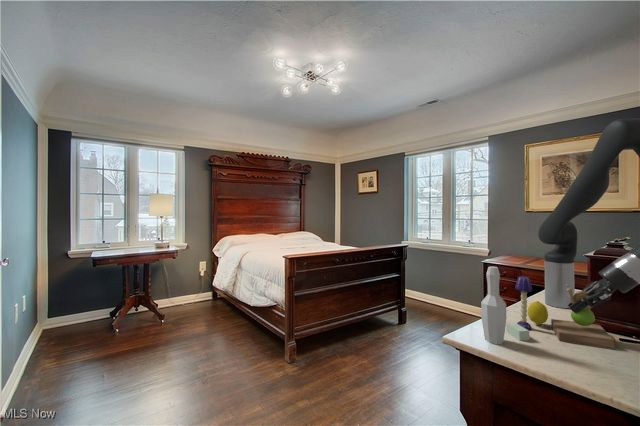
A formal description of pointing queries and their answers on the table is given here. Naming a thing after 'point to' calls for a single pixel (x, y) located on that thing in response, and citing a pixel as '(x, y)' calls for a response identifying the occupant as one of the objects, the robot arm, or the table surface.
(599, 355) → the table surface
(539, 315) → the lemon
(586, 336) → the walnut block
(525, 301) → the toy lamp
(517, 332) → the sage block
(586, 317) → the snail figurine
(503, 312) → the low poly bottle
